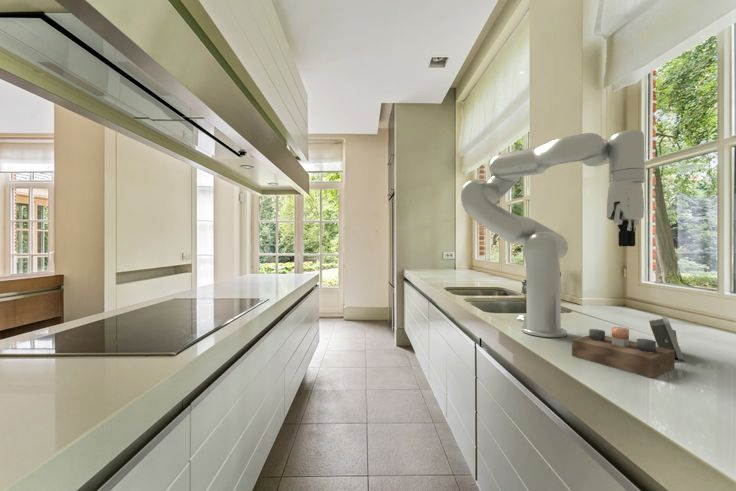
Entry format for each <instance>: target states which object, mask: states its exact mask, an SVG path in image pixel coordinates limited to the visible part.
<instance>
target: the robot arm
mask: <svg viewBox="0 0 736 491" xmlns="http://www.w3.org/2000/svg"><path fill="white" fill-rule="evenodd" d="M576 162H580V163H582V164H583V165H585V166H587V167H600V166H602V165H606V164H608V172H609V174H608V181H609V186H608V191H607V199H606V200H607V202H606V218H607V220H609V221H613V223H614V225H617V226H616V227H617V232H618V246H619V247H635V246H636V231H637V226H638V225H639V224H640V220H642V219H643V218H644V215H645V203H644V202H645V201H644V191H643V190H644V189H643V183H645V181H646V180H645V134H644V132H643V131H642V130H639V129H629V130H623V131H620V132H619V131H618V132H616V133H614V134H612V135H611V136H610V138H609V139H605V138H603V137H602V136H601V135H599V134H597V133H594V132H586V133H585V132H584V133H579V134H573V135H568V136H563V137H559V138H555V139H553V140H550V141H547V142H546V143H544V144H541V145H538V146H534V147H529V148H525V149H519V150H514V151H507V152H503V153H499V154H497V155H495V156H494V157H492V158H491V160H490V161H489V165H488V167H489V168H488V169H489V172H490V174H491V175H492V176H491V178H490V179H488V181H487V180H483V179H477V178H476V179H471V180H469V181H467V182H465V183H464V185H463V186H462V188H461V192H460V193H461V194H460V198H461V199H460V200H461V205H462V208H463V209H464V211H465V212H466V214H467V215H468V216H469V217H471V218H472V219H473V220H474V221H475V222H477V223H478V224H480V225H481V226H483V227H484V228H486V229H487V230H488V231H490V232H492V233H493V234H495V235H496V236H498V237H500V238H501V239H502V240H504V241H505V242H508V243H510V244H514V245H515V244H517V245H521V246H523V256H524V261H525V262H524V263H525V274H526V276H525V277H526V278H525V280H526V281H525V282H526V284H525V285H526V315H525V314H524V315H523V314H519V315H518V317H517V318H516V321H517V322H521V323H523V325H521V327H520V328H521V329H520V330H521V331H522V332H523V333H525V334H527V335H531V336H536V337H543V338H563V337H566V336H567V333H568V331H567V330H566V329H564V328H563V327H562V314H561V313H562V305H561V304H562V302H561V301H562V297H561V296H562V295H561V294H562V292H561V291H562V290H561V286H562V284H561V283H562V282H561V266H560V260H561V259H562V258H564V257H565V256H566V255H567V253H568V249H569V245H568V241H567V240H566V238H565V237H564V236H563V235H561V234H560V233H558V232H556V231H554V230H553V229H551V228H549V227H548V226H546V225H544V224H542V223H540V222H538V221H536V220H535V219H532V218H530V217H528V216H522V215H517V214H515V213H512V212H510V211H508V210H506V209H505V208H503V207H502V206H501V205H498V204H496V203H498V202H499V201H500V200H501V199H502V198H503V197H505V195H506V194H507V193H508V192H509V191H511V189H512V188H513V187H514V186H515V185H516V184H517V183H518V182H519V180H520V179H521V178H522V177H525V176H526V177H527V176H533V175H534V176H535V175H540V174H543V173H544V172H546V170H548V169H549V168H551V167H553V166H558V165H563V164H568V163H576Z"/></svg>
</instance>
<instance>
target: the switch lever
mask: <svg viewBox="0 0 736 491" xmlns="http://www.w3.org/2000/svg"><path fill="white" fill-rule="evenodd" d="M588 330H589V331H588V334H589V335H588V336H589V339H590V340H595V341H599V342H602V341H605V336H606V331H605V330H602V329H599V328H597V329H596V328H589V329H588Z"/></svg>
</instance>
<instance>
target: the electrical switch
mask: <svg viewBox="0 0 736 491" xmlns="http://www.w3.org/2000/svg"><path fill="white" fill-rule="evenodd" d="M648 322H649V326H650V328H651V329H650V330H651V331H652V335H653V336H654V341H655V342H656V346H657V347H661V348H665V349H670V350H675V358H677V360H678V361H684V357H683V354H682V351H681V348H680V346H679V341H678V336H677V331H676V329H673V327H672V325H671V322H670V321H669V318H668V317H667V315H661V318H660V319H653V320H649V321H648Z"/></svg>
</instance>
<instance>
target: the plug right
mask: <svg viewBox="0 0 736 491" xmlns="http://www.w3.org/2000/svg"><path fill="white" fill-rule="evenodd" d="M636 342H637V350H638V351H643V352H647V353H651V354H652V353H654V352H656V347H657V342H656V340H652V339H647V338H636Z"/></svg>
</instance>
